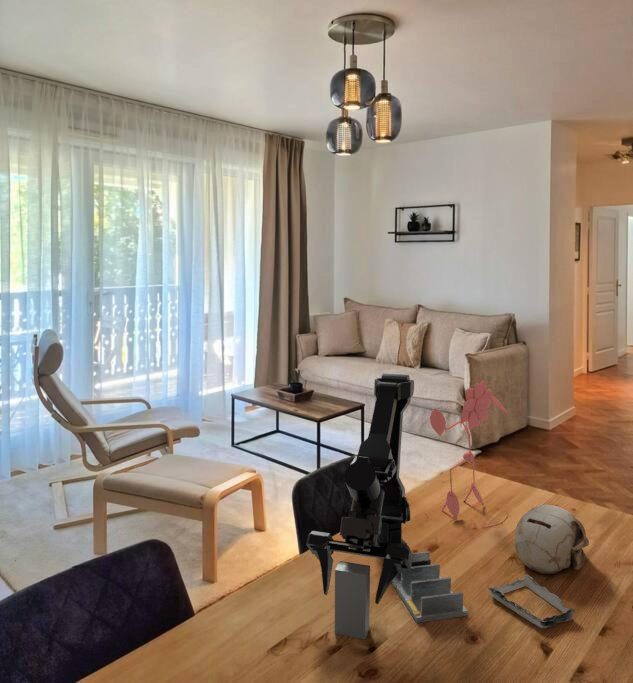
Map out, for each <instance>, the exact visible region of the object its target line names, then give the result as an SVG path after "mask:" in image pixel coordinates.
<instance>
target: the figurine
mask: <svg viewBox="0 0 633 683" xmlns="http://www.w3.org/2000/svg"><path fill="white" fill-rule="evenodd" d="M464 394H465V395H464V396H465V398H466V401H465V402H464V404H463V406H462V412H461V415H460V419H459V421H457V422H454V423H452V424H451V425H450V426H448V427H446V426H447V425H446V417H445V415H444V414H443V413H442V411H440V410H438V408H437V407H433V410H432V411H431V412H430V415H429V416H430V417H429V423H430V426H431V428H432V429H433V431H434V432H435V433H436V434H437V435H438V436H440V437H441V435H442V434H443V433H444V431H445V432H446V431H448V430H449V429H452V428H453V427H455V426H457V425H459V424H460V423H461V424H462V426H463V428H464V430H465V432H466V434H467V437H468V438H467V439H468V440H467V441H468V451H465V452H464V453H463V455H462V458H463V460H461V462H459V463H458V464H456V465H454V466H453V467H450V469H449V481H450V485H449V486H450V490H449V491H447V493H446V497H445V500H446V501H445V503H444V505H443V506H442V507H441V511H442V512H444V511H445V508H446V507H447V509H448V512H449V513H450V514H451V516H452V517H453V518H454V520H457V519H458V518H459V513H460V503H459V499H458V497H457V495H456V493H455V492H453V483H452V482H453V479H452V478H453V477H452V470H454V469H455V468H457V467H458V466H460V465H462V464H463V463H465V462H467V463H471V462H472V475H473V476H472V477H473V478H472V480H473V483H472V482H470V489H469V491H468V493H466V496H465V497H464V500H463V501H465V502H466V501H467V500H468V498H469V497H470V495H471V493H472V492H473V495H474V496H475V498H476V500H477V501H478V502H479V503H480V505H482V506H485V503H484V501H483V498H482V496H481V494H480V491H479V490H478V488H477V487H476V485H475V455H474V453H473V452H472V450H471V449H472V447H471V444H472V443H471V434H470V432H469V431H472V430H473V429H474V428H476V429H478V428H479V427H480V425H481V421H483V422H484V421H487V420H488V419H489V417H490V413H489V410H488V409H489V407H490V406H491V404H492V402H493V404H494V405H495V406H496V407H497V408H498V409H499V410H501V411H502V413H505V414H508V413H509V412H508V411H507V409H506V407H504V405H503V404H502V402H501V401H500V400H499V399H498V398H497V397H496V396H495V395H493V390H492V389H491V388H489V389H487V383H486V380H482V381H481V382H480V383H479V382H476V383H475V384H474V388H473V387H469V388H467V389H466V390H465V392H464ZM467 422H468V423H467ZM465 423H467V424H468V425H467V426H468V428H467V426H466V424H465ZM468 429H469V430H468ZM504 508H505V510H506V512H508V511H507V510H508V509H506V507H504ZM424 515H425V516H427V517H429V515H427V514H426V513H424ZM507 518H508V516H506V517H505V519H504V521H506V519H507ZM503 523H504V522H503V521H501V522H499V523H496V524H494V525H489V526H488V528H492V527H495V526H498V525H503ZM483 528H484V529H485V528H487V526H482V529H483Z"/></svg>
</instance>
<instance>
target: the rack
mask: <svg viewBox="0 0 633 683" xmlns="http://www.w3.org/2000/svg"><path fill="white" fill-rule="evenodd" d="M411 554H412V565H411V569H410V570H407V569H403V573H398V574H397V575H396V576H395V577H394V579H393V580H392V581H391V583H390V584H392V586H393V588H394V589H395V590H396V592H397V593H398V595H399V596H400V598H401V600H402V602H403V604H404V605H405V607H406V608H407V609H408V611H409V613H410V615H411V616H412V618H413V619H414V621H415V622H416V624H418V623H426V622H433V621H439V620H448V619H453V618H461V617H468V616H469V610H468V609H467V608H466V607H465V605H464V593H463V592H462V591H458V592H453V590H452V589H451V588H452V578H451V576H448V577H442V576H441V575H440V573H441V571H440V569H441V566H440V565H441V564H440V563H433V564H432V562H431V561H432V560H431V558H430V555H431V554H430V551H429V550H428V551H420V552H419V551H418V552H411Z"/></svg>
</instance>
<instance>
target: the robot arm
mask: <svg viewBox="0 0 633 683" xmlns="http://www.w3.org/2000/svg"><path fill="white" fill-rule="evenodd" d="M373 383H374V386H373V388H374V391H373V394H374V396H375V403H374V408H373V413H372V418H371V423H370V427H369V433H368V437H367V438H366V439H365V440H364V441H363V442H362V443H361V444H359V448H358V452H357V455H355V456H354V458H353V460H352V462H351V463H350V465H349V466H348V467H347V468H346V470H345V471H344V473H343V474H344V475H343V478H344V483H345V485H346V487H347V490H348V492H349V495H350V497H351V498H352V503H351V507H350V510H349V512H348V517H347V516H341V520H340V529H339V536H341V538H342V539H343V540H344V541H342V540H335V539H334V538H333V537H332V535H331V533H329V532H325V531H324V532H323V531H316V530H311V532H310V533H308V535H307V537H306V542H305V543H306V544H305V545H306V546H307V548H308V550H309V551H310V552H311V554H312V555H314V557H316V559H317V560H318V561H319V564H320V569H321V580H322V590H323V595H324V596H327V595H328V592H329V591H330V590H329V589H330V584H331V578H332V570H333V564H334V558H333V557H332V555H333V554H334V552H336V553H344V554H349V555H356V556H361V557H368V558H374V559H375V558H376V559H381V560H383V561H382V568H381V573H380V577H379V580H378V581H379V582H378V586H377V589H376V593H375V602H374V603H375V605H379V604H380V602H381V600H382V598H383V596H384V595H385V593H386V591H387V589H388V588H389V586H390V584H392V583H391V581H392V580H393V579H394V577H395V576H396V575H397V574H398V573H403V569H407V570H410V569H411V565H412V554H411V553H412V550H411V548H410V546H409V545H408V543H407V542H406V541H405V540H404V539H403V537H402V536H403V535H402V534H403V531H402V530H403V529H402V528H403V527H402V526H403V524H404V525H406V524H407V522H411V506H410V503H409V501H408V500H409V499H408V497H407V496H406V488H405V486H404V484H403V482H402V479H401V478H400V469H401V468H400V467H401V451H402V434H403V422H404V421H403V417H404V416H403V415H404V412H405V411H406V409H407V408H408V406H410V405H411V400H412V397H413V395H414V393H415V380H414V379H410V375H409V374H395V373H382V374H381V377H377V378H375V379H374V382H373Z"/></svg>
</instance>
